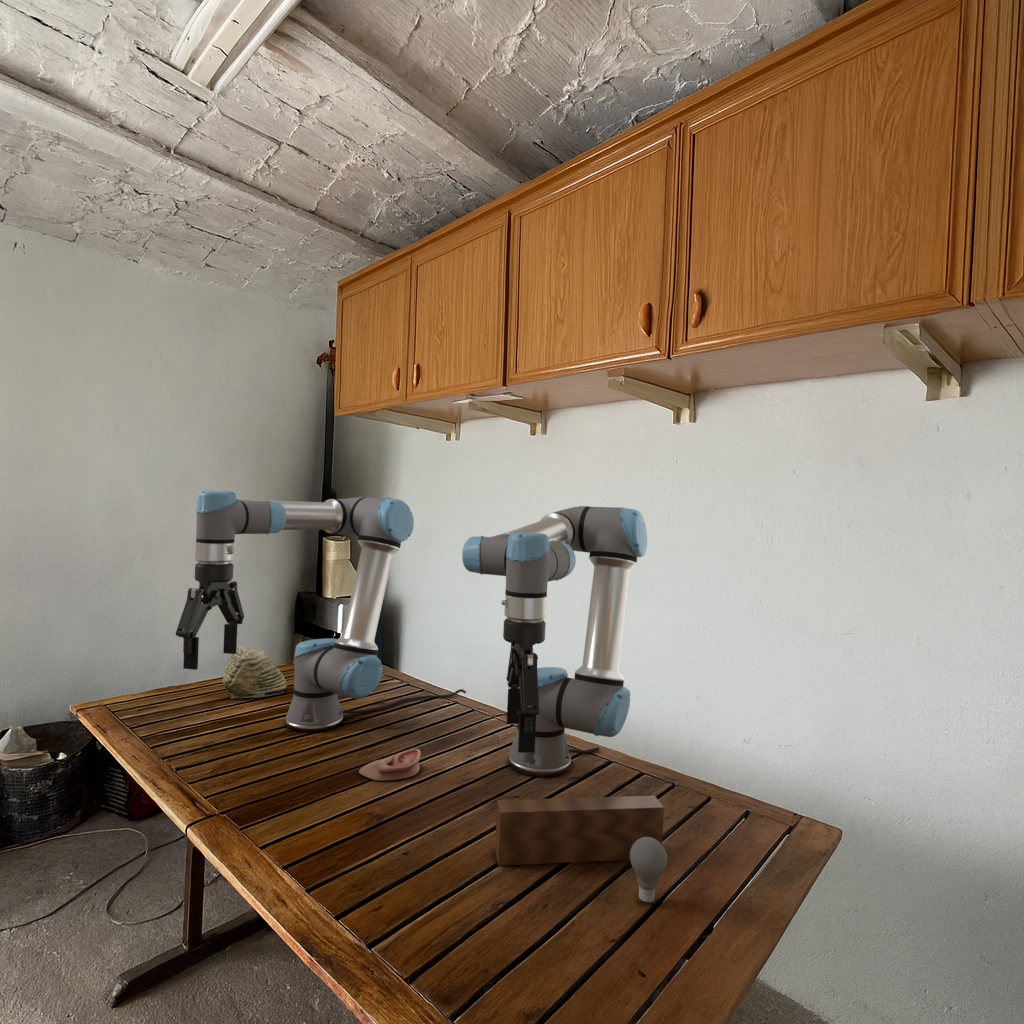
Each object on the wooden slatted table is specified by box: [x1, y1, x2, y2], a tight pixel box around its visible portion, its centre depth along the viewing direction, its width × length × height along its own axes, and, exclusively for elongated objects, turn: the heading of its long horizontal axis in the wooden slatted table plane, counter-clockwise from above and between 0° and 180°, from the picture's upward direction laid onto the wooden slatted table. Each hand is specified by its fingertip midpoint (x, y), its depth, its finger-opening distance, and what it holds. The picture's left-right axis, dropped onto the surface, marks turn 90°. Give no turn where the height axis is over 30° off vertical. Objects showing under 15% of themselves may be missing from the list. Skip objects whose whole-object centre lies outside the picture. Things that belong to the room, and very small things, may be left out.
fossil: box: [222, 646, 288, 699], centre depth 198 cm, size 9×18×15 cm, turn 132°
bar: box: [494, 795, 665, 867], centre depth 116 cm, size 30×5×10 cm, turn 99°
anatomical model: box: [358, 748, 422, 782], centre depth 147 cm, size 13×4×12 cm
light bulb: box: [629, 837, 668, 903], centre depth 103 cm, size 6×6×10 cm
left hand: (211, 660), depth 136 cm, fingers open, 13 cm apart
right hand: (519, 736), depth 114 cm, fingers open, 13 cm apart
